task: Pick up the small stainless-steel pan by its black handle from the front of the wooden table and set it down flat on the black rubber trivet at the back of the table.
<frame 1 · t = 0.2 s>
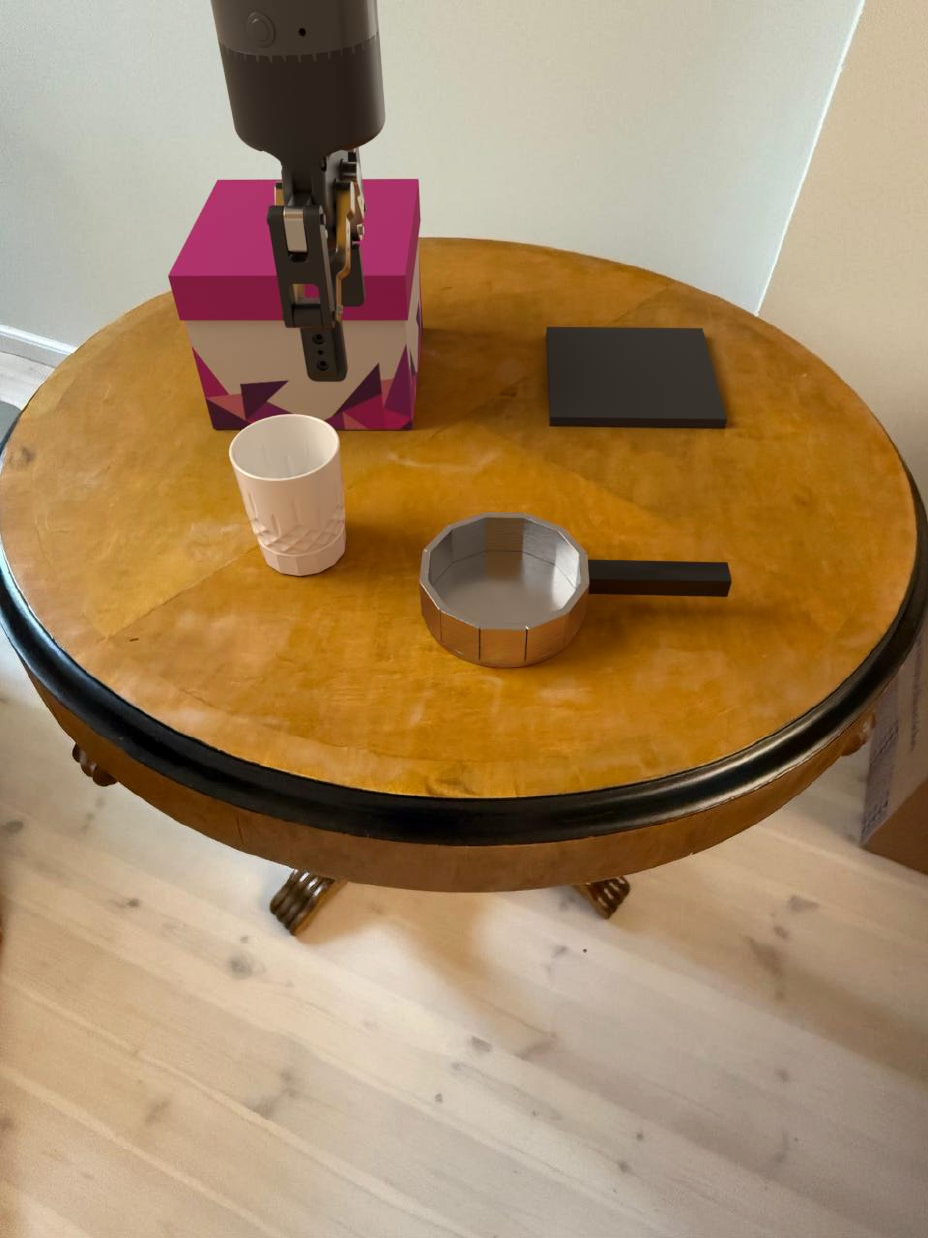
hand: (339, 338, 54), 21 cm above the table, tool pointing down, fingers open, 8 cm apart
white cup: (304, 549, 72), on the table
decorative box: (325, 376, 89), on the table
trivet: (629, 378, 88), on the table
steel pan: (503, 606, 67), on the table
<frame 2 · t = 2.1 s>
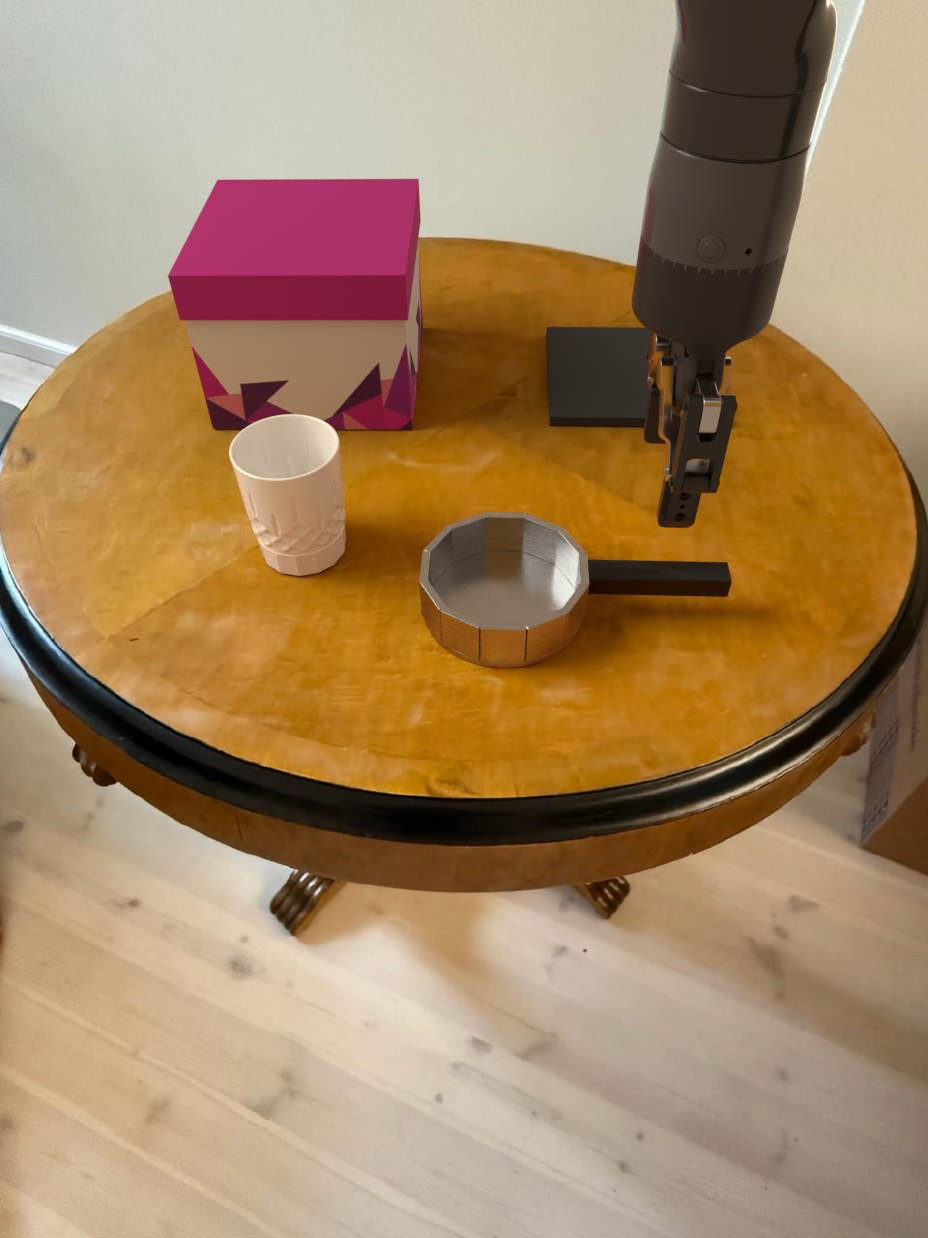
hand: (666, 479, 58), 12 cm above the table, tool pointing down, fingers open, 8 cm apart
nothing on the table moved.
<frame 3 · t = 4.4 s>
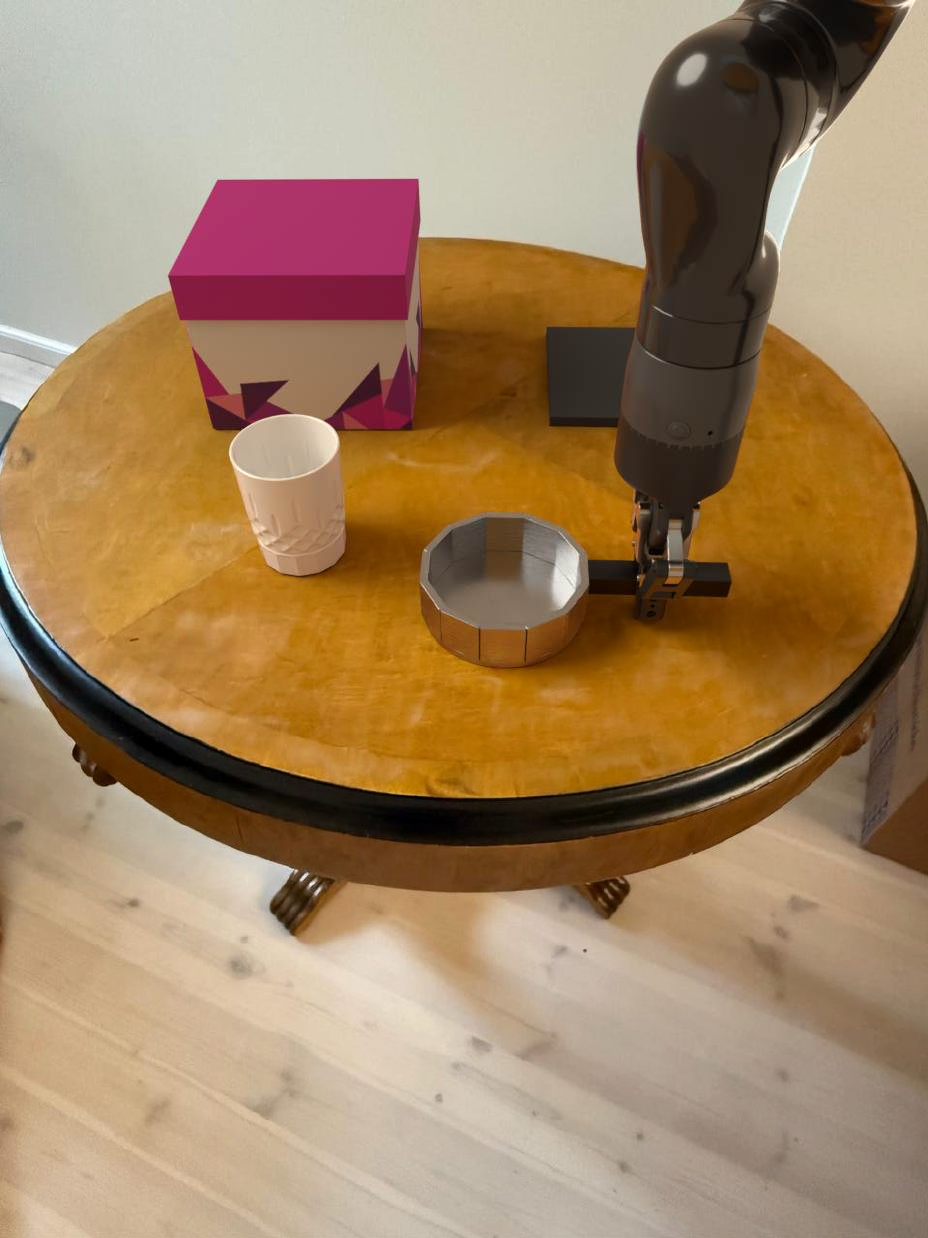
hand: (645, 603, 66), 1 cm above the table, tool pointing down, fingers closed on steel pan, 2 cm apart
steel pan: (503, 606, 67), on the table, touching gripper
everything else where it was.
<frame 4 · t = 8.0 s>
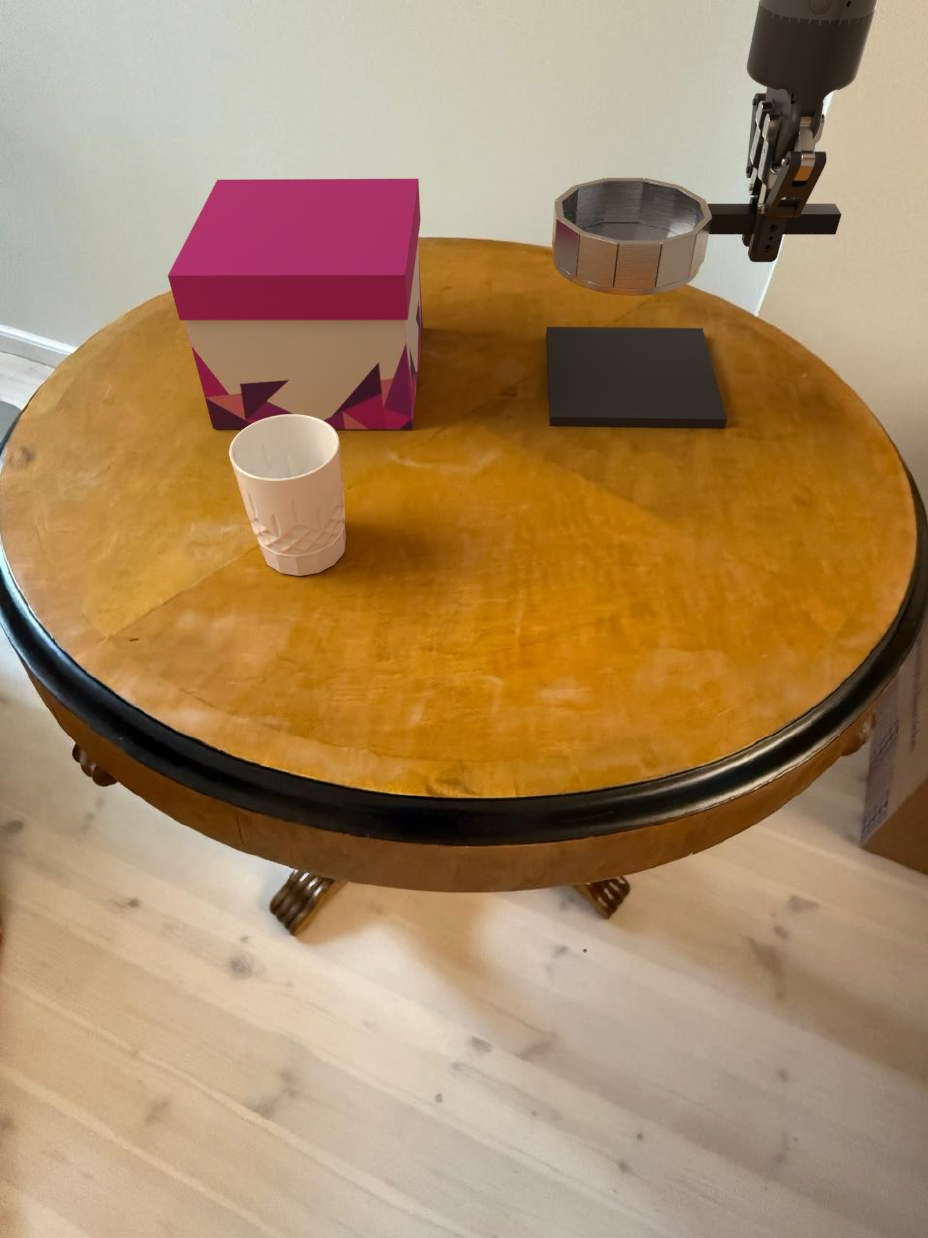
hand: (758, 251, 72), 15 cm above the table, tool pointing down, fingers closed on steel pan
steel pan: (625, 259, 73), point 15 cm above the table, touching gripper
everything else where it was.
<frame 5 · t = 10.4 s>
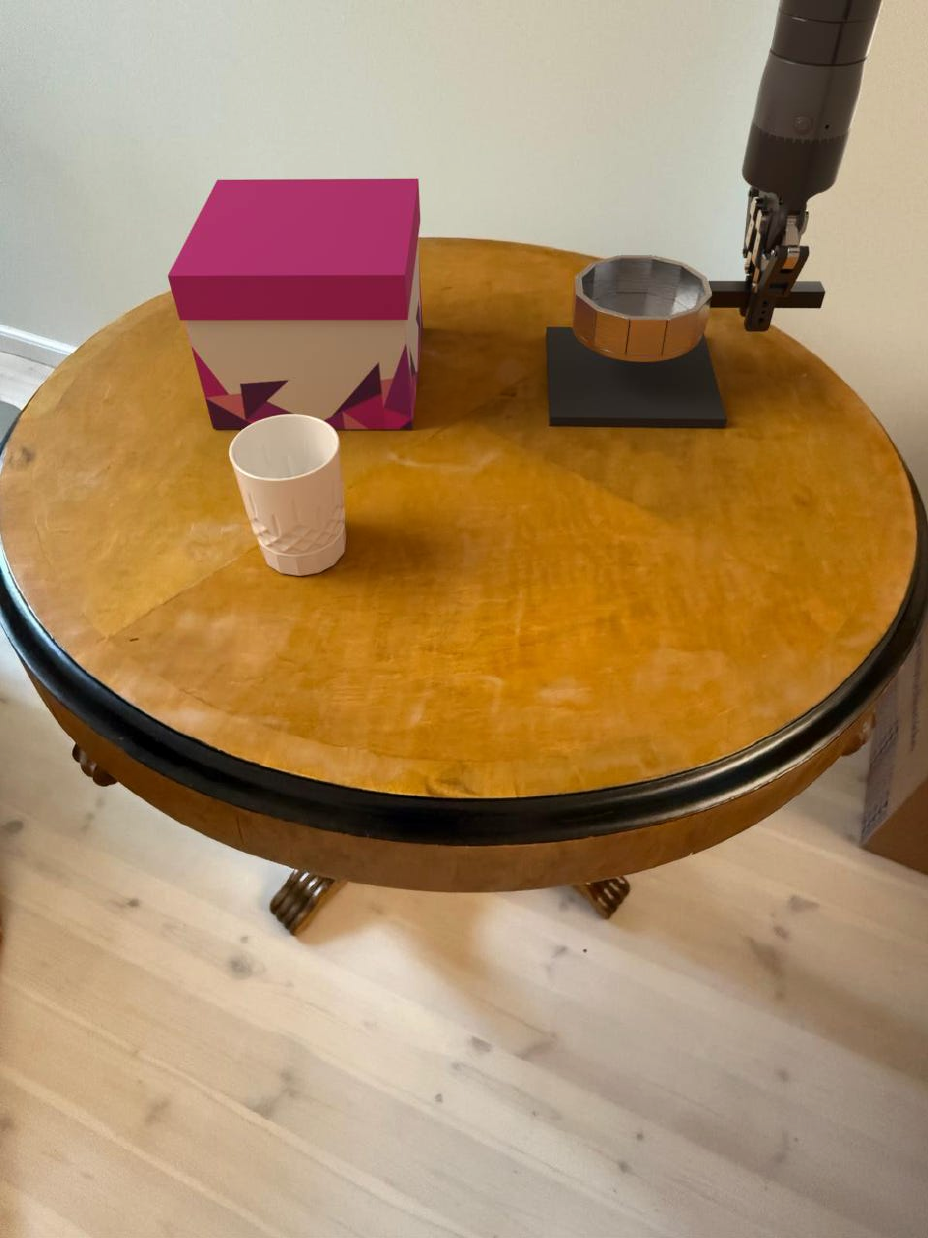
hand: (753, 321, 83), 6 cm above the table, tool pointing down, fingers closed on steel pan
steel pan: (636, 327, 83), point 6 cm above the table, touching gripper
everything else where it was.
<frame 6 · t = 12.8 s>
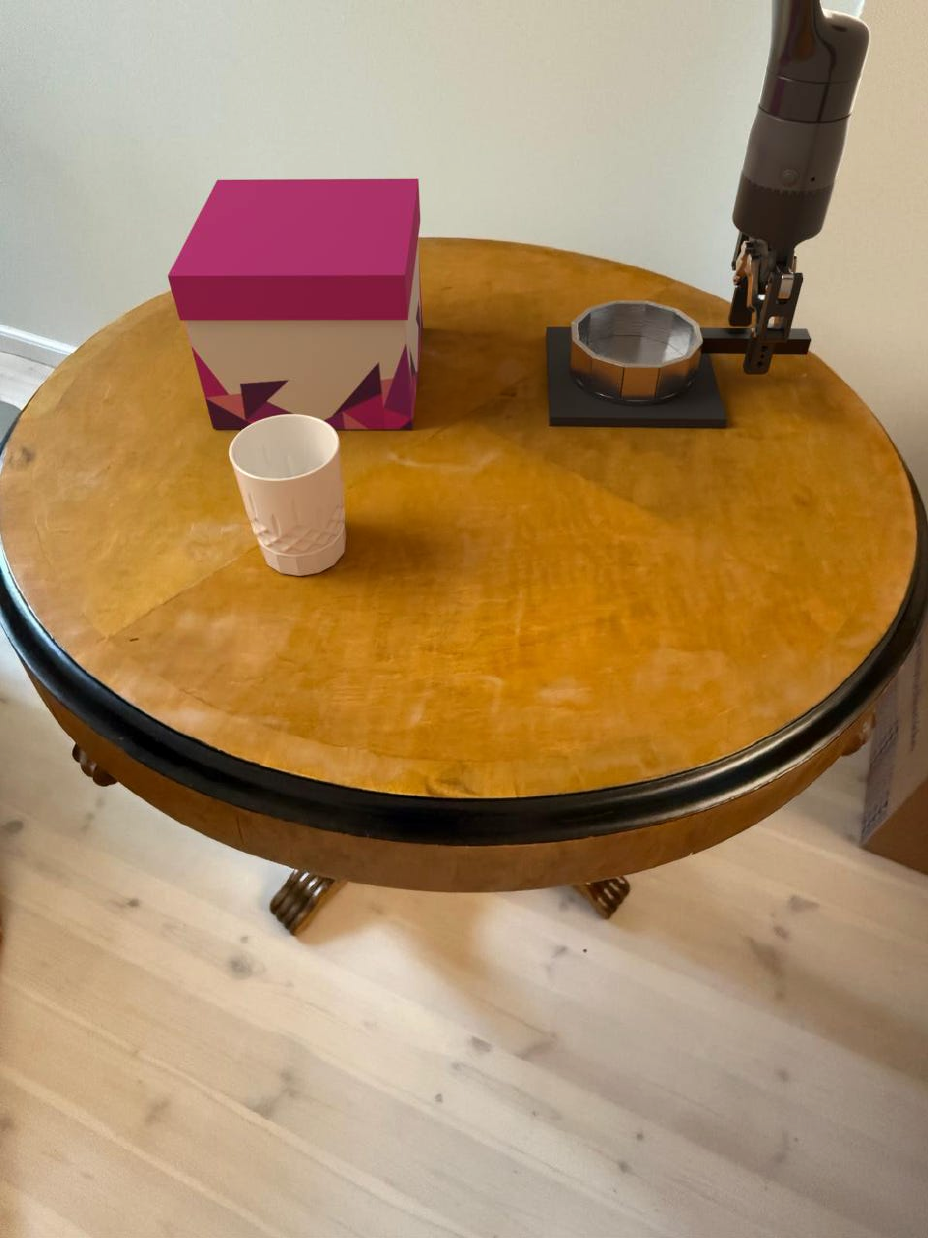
hand: (746, 347, 85), 4 cm above the table, tool pointing down, fingers open, 8 cm apart
steel pan: (630, 370, 87), point 1 cm above the table, touching trivet
everything else where it was.
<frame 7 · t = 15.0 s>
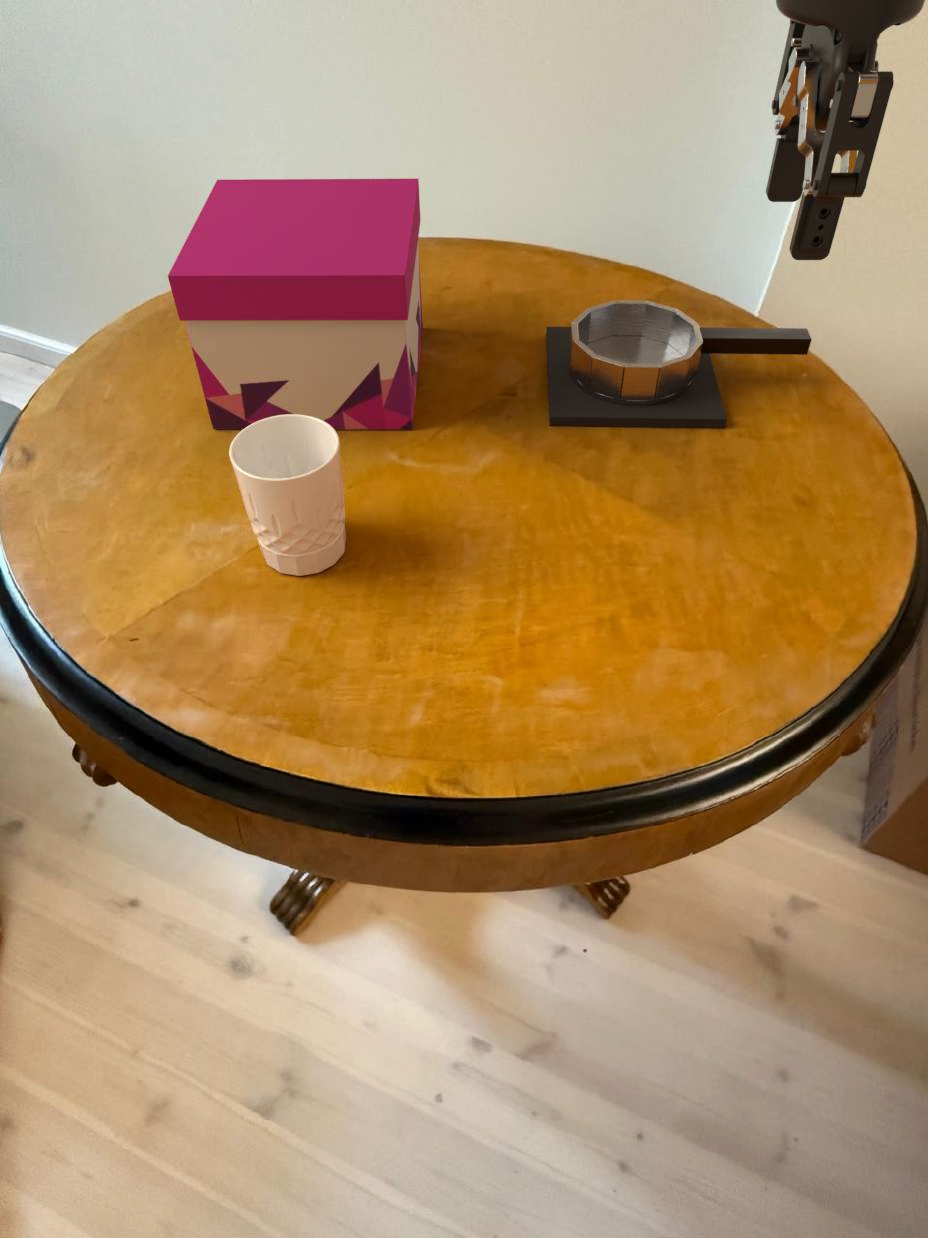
hand: (794, 226, 57), 24 cm above the table, tool pointing down, fingers open, 8 cm apart
nothing on the table moved.
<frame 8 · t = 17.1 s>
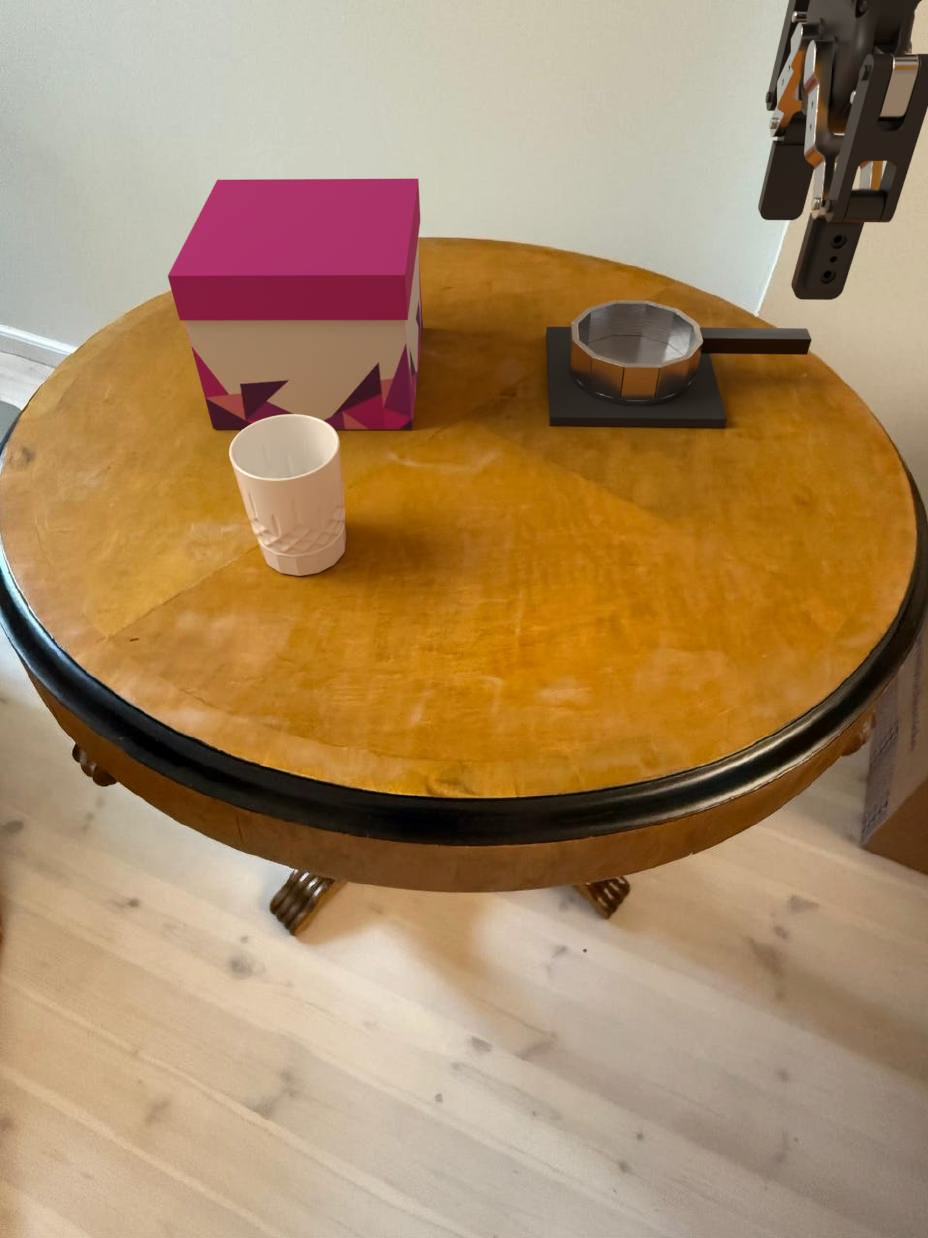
hand: (795, 253, 45), 28 cm above the table, tool pointing down, fingers open, 8 cm apart
nothing on the table moved.
at the end: steel pan inside the target area on the trivet (0.1 cm from its centre), point 1.0 cm above the trivet's base; steel pan tilted 0°; the gripper is holding nothing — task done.
